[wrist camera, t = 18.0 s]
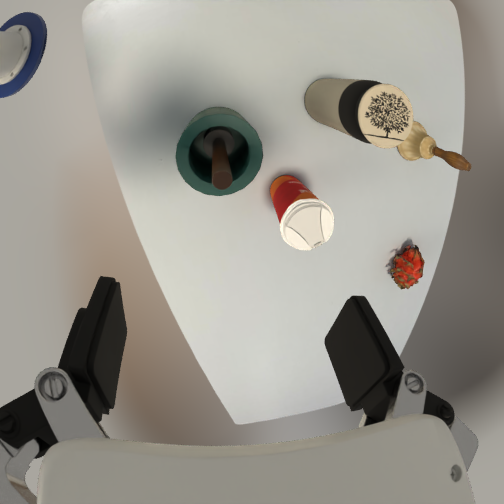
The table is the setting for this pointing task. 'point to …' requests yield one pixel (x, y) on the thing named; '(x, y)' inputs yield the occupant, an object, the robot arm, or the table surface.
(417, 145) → the hand bell
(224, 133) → the peg on round base
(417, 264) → the dragon fruit
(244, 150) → the jar
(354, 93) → the travel mug
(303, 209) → the paper cup
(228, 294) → the table surface
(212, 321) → the table surface
